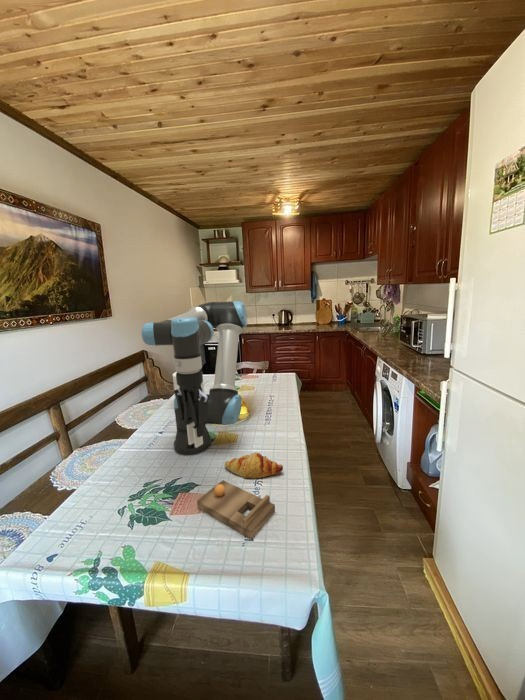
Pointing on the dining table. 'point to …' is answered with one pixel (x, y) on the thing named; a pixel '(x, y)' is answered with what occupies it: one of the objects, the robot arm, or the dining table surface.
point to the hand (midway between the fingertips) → (195, 444)
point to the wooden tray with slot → (238, 509)
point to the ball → (219, 490)
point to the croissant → (253, 466)
